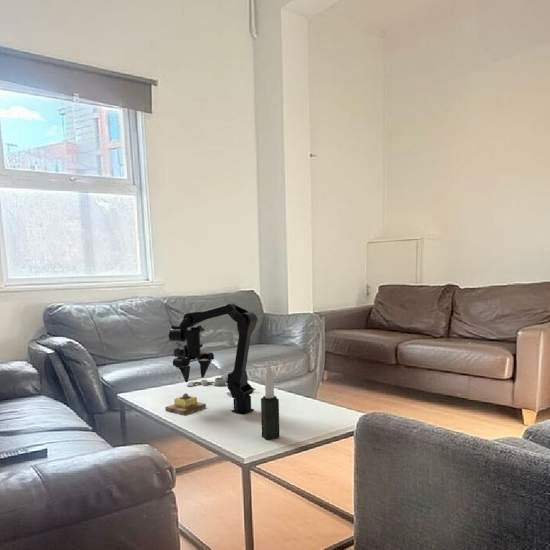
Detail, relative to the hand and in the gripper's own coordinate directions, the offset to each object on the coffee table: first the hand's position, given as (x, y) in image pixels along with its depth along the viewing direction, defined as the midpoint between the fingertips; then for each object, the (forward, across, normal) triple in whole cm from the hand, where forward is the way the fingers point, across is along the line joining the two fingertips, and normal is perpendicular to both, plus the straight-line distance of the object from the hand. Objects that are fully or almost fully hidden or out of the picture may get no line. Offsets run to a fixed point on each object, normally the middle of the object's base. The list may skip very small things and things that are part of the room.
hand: (194, 379), depth 200 cm
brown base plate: (+11, +5, -1) cm, 12 cm away
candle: (+12, +13, +48) cm, 51 cm away
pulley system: (+12, -35, -21) cm, 42 cm away
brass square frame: (+10, +5, -1) cm, 11 cm away
